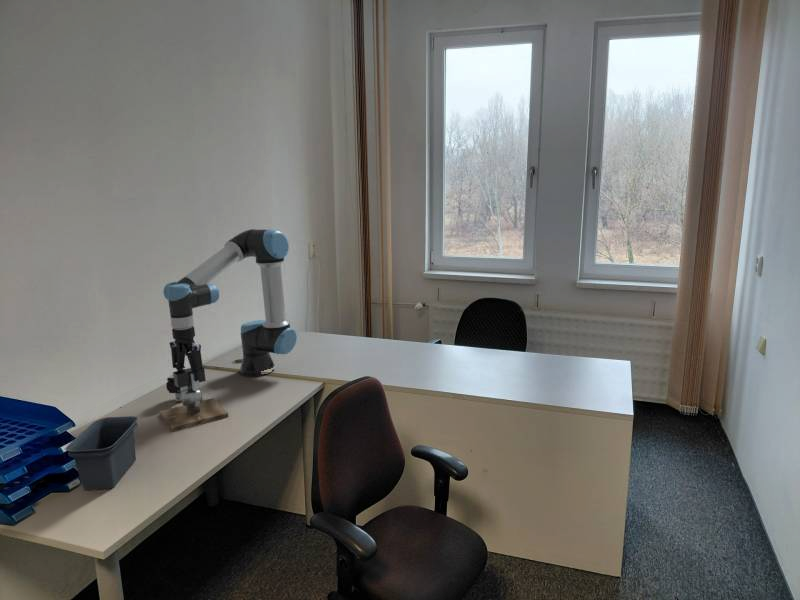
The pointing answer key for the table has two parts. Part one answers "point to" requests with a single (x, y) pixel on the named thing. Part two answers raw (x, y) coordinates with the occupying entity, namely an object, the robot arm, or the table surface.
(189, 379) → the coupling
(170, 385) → the pneumatic valve
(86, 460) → the storage bin
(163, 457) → the table surface
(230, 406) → the table surface
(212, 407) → the base
